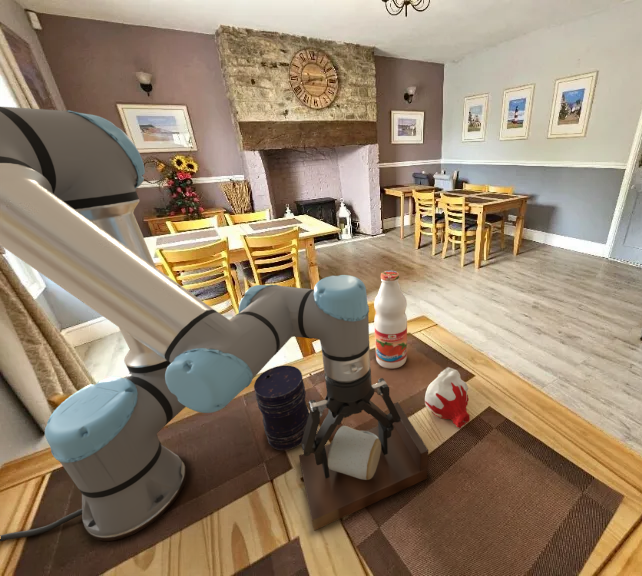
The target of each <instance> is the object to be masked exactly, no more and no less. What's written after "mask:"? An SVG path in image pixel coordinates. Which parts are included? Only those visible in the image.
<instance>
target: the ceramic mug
mask: <svg viewBox="0 0 642 576" xmlns="http://www.w3.org/2000/svg"><path fill="white" fill-rule="evenodd" d="M330 444H331V446H330V450H329V454H328V467H329V469H331V470H333V471H337V472H340V473H343V474H346V475H350V476H353V477H356V478H359V479H363V480H369V479H371V478H372V477H373V476H374V473H375V471H376V468H377V465H378V462H379V458H380V453H381V442H380V440H379V438H378V437H377V436H376V435H375V434H373V433H371V432H368V431H366V430H358V429H356V428H352V427H350V426H347V425H341V426H340V427H339V428H338V429H337V431H336V433H335V434H334V435H333V438H332V440H331V443H330Z"/></svg>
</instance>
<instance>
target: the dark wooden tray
mask: <svg viewBox="0 0 642 576" xmlns="http://www.w3.org/2000/svg"><path fill="white" fill-rule="evenodd" d="M393 404H394V406H395V408H396V410H397V412H398V414H399V416H400V418H401V420H400V421H399V422H397V423H396V422H394V423H393V424H392V425H393V427H394V429H393V430H392V431H391V437H390V438H387V447H388V454H386V455H384V454H383V452H382V450H381V453H380V458H379V462H378V465H377V468H376V471H375V473H374V476H373V477H372V478H371V479H369V480H363V479H359V478H356V477H353V476H350V475H346V474H343V473H340V472H337V471H333V470H331V469H329V475H330V477H329V478H325V474H324V470H323V467H322V464H320V465H317V464H316V461H315V456H314V453H311V454H310V455H309V456H304V454H303V453H302V454H299V455H298V457H299V462H300V463H299V464H300V467H301V468H300V469H301V473H302V478H303V483H304V488H305V493H306V498H307V503H308V508H309V513H310V517H311V518H310V519H311V524H312V528H313V531H316V530H319V529H321V528H323V527H326V526H327V525H329V524H332V523H334V522H336V521H339V520H341V519H343V518H345V517H347V516H350V515H351V514H353V513H356V512H358V511H360V510H362V509H365V508H366V507H369V506H371V505H373V504H375V503H378V502H380V501H382V500H384V499H386V498H388V497H390V496H393V495H394V494H398V493H399V492H401V491H403V490H406V489H408V488H410V487H412V486H414V485H416V484H419V483H421V482H423V481H425V480H427V479H428V467H429V449H428V447H427V446H426V443H424V441H423V440H422V438H421V436H420V435H419V433H418V432H417V430H416V428H415V427H414V425H413V423H412V422H411V421H410V419H409V417H408V415H407V414H406V413H405V411H404V409H403V408H402V406H401V404H400V403H399V402H393ZM365 431H368V432H371V433H373V434H375V435H376V436H377V437H378V438H379V435H378V425H377V426H375V427H372V428H370V429H366V430H365ZM330 446H331V443H328V444H326V445H325V450H326V454H327V461H328V454H329V450H330ZM328 468H329V467H328Z"/></svg>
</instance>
